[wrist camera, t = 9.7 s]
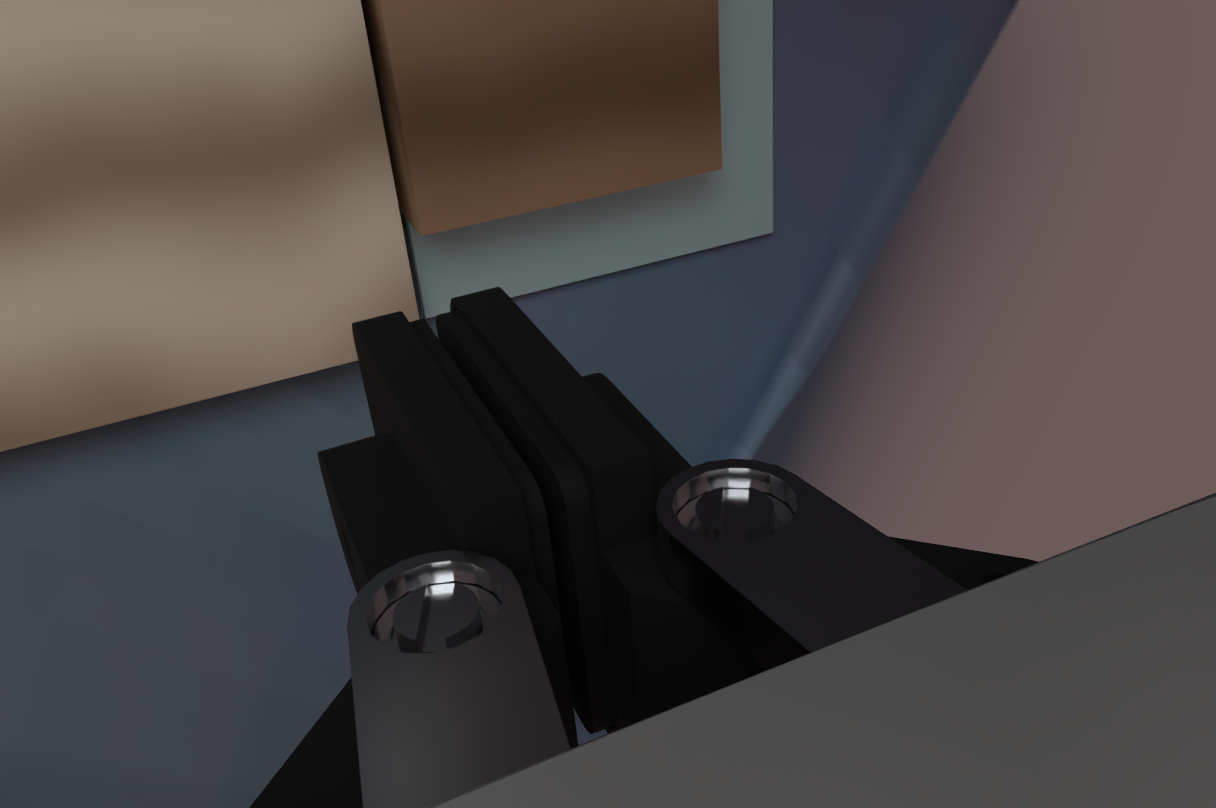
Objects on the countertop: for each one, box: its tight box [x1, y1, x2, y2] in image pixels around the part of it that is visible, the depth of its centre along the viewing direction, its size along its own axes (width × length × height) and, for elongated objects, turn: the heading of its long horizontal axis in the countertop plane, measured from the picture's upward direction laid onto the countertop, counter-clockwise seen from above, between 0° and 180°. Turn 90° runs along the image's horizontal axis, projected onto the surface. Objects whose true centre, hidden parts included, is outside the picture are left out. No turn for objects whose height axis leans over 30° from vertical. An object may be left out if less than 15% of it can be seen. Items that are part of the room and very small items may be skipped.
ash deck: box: [0, 0, 419, 452], centre depth 26 cm, size 14×14×2 cm
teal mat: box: [405, 0, 773, 319], centre depth 31 cm, size 14×12×1 cm
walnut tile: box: [361, 0, 722, 236], centre depth 29 cm, size 7×9×2 cm
